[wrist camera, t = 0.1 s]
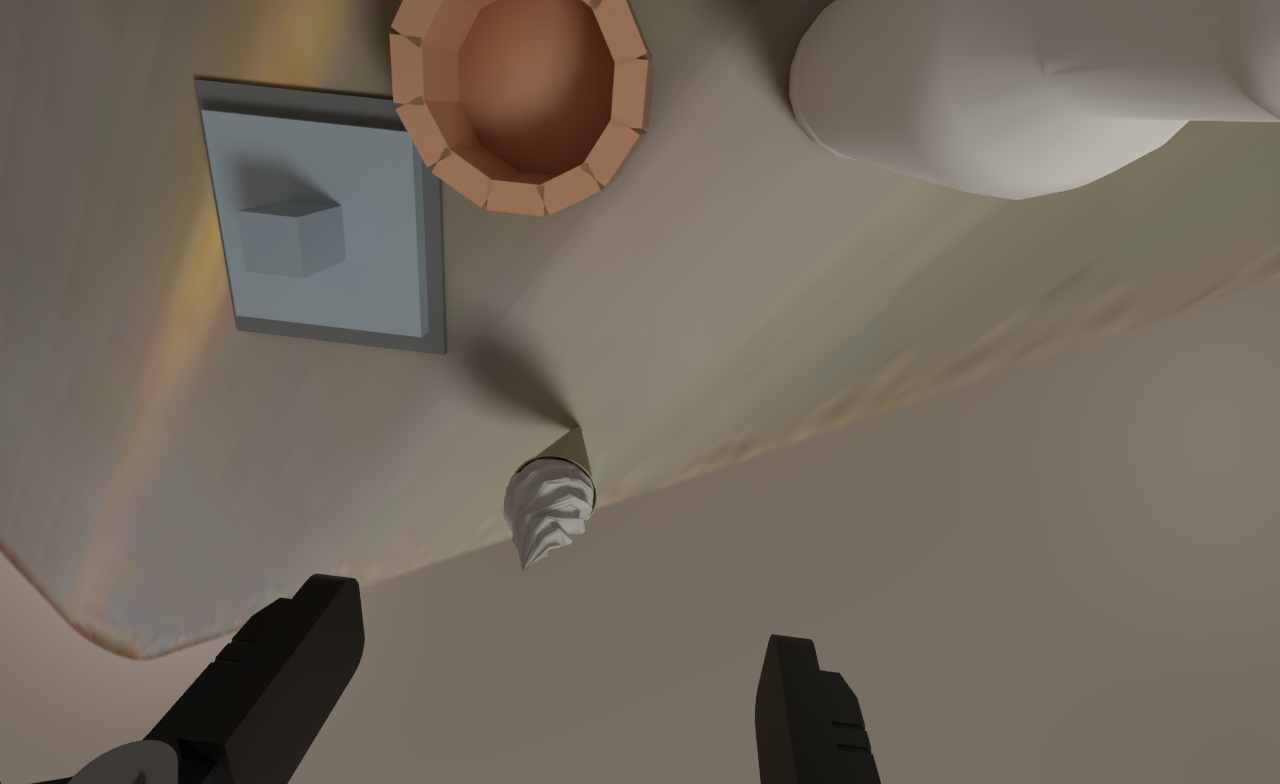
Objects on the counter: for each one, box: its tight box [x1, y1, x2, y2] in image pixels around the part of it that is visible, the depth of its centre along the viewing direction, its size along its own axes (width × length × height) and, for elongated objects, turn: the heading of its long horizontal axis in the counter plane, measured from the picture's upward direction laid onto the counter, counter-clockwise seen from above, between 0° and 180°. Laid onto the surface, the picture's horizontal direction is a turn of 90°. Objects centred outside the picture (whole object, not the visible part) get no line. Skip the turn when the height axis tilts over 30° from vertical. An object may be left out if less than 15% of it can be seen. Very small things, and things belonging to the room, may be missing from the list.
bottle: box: [789, 0, 1280, 200], centre depth 20 cm, size 8×8×30 cm
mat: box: [194, 79, 447, 355], centre depth 39 cm, size 15×14×1 cm
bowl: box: [389, 0, 654, 216], centre depth 32 cm, size 12×12×6 cm
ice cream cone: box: [503, 426, 598, 572], centre depth 37 cm, size 5×5×15 cm
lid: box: [201, 110, 429, 337], centre depth 36 cm, size 12×12×6 cm
